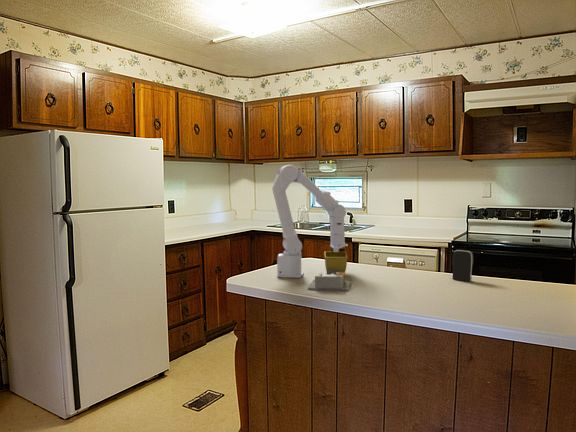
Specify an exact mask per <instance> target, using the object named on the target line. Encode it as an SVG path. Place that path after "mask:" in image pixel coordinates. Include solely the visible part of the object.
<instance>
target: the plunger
mask: <svg viewBox="0 0 576 432" xmlns="http://www.w3.org/2000/svg"><path fill="white" fill-rule="evenodd" d="M340 274H344V276H345V275H346V274H347V273H346V272H345V273H340V269H327V271H326V274H325V273H324V274H323V273H322V276H329V277H339V276H340Z"/></svg>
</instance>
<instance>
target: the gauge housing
mask: <svg viewBox="0 0 576 432" xmlns="http://www.w3.org/2000/svg"><path fill="white" fill-rule="evenodd" d="M322 275H323V273H321V272H319V273H318V274H317V275H314V279H313V280H312V281H311V283H310V284H309V285H308V287H307V290H308V291H322V292H323V291H324V292H344V293H345V292H346V293H347V292H349V291H350V287H351V283H352V282H351V281H350V280H347V281H346V280H344V277H345V275H344V274H341V275H340V276H339V277H329V276H322Z"/></svg>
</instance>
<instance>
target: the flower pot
mask: <svg viewBox="0 0 576 432" xmlns="http://www.w3.org/2000/svg"><path fill="white" fill-rule="evenodd" d="M323 254H324V263H325V270H326V272H327V269H340V273H346V270H347V267H348V266H347V265H348V254H347V251H346V250H345V251H339V252H333V251H331V250H329V251H324V252H323ZM340 275H341V274H340Z"/></svg>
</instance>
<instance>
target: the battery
mask: <svg viewBox="0 0 576 432" xmlns="http://www.w3.org/2000/svg"><path fill="white" fill-rule="evenodd" d="M473 265H474V253H473V251H471V250H465V249H456V250H455V251H453V253H452V280H455V281H461V282H472V279H473V278H472V276H473V275H472V273H473V272H472V271H473Z"/></svg>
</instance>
